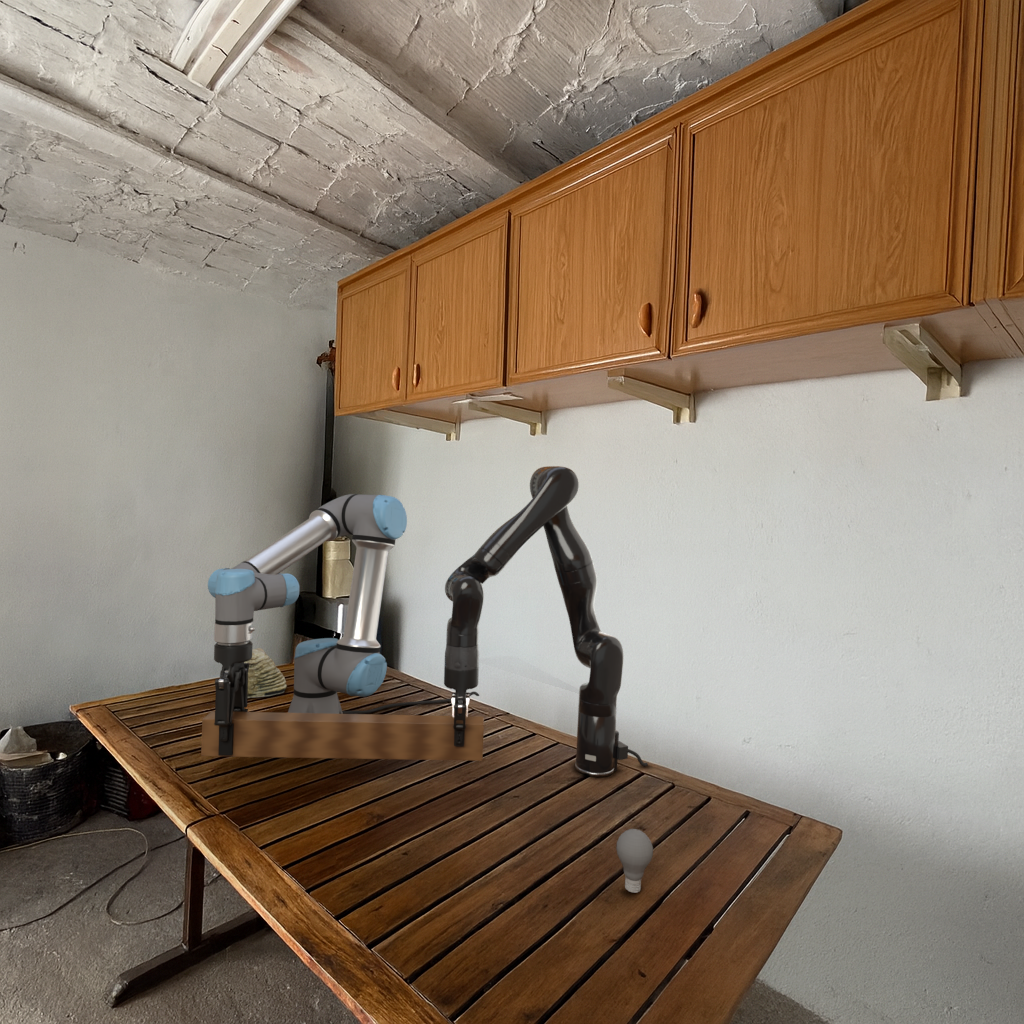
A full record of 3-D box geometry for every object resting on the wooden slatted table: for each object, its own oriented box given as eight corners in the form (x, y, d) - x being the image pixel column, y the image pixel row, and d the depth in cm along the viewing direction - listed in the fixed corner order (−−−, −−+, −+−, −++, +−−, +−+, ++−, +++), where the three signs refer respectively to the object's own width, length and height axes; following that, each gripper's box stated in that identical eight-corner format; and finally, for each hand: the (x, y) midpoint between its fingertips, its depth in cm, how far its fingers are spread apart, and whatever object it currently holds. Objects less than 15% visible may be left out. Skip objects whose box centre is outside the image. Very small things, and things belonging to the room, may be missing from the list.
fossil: (218, 695, 195) (220, 647, 195) (278, 685, 208) (279, 640, 207) (228, 703, 189) (230, 653, 188) (289, 692, 201) (290, 645, 201)
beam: (201, 756, 133) (202, 719, 133) (210, 746, 138) (211, 711, 138) (482, 760, 137) (483, 724, 137) (482, 751, 142) (483, 716, 142)
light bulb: (610, 879, 108) (613, 822, 108) (644, 879, 109) (647, 822, 109) (619, 902, 102) (622, 840, 102) (655, 901, 103) (658, 840, 103)
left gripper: (236, 652, 127) (233, 767, 128) (265, 633, 145) (262, 733, 146) (197, 651, 126) (194, 767, 127) (231, 632, 144) (228, 733, 145)
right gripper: (479, 673, 132) (476, 754, 132) (478, 656, 146) (476, 729, 147) (442, 673, 131) (440, 754, 132) (446, 655, 146) (443, 728, 146)
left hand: (230, 748), depth 136 cm, fingers closed on beam, 5 cm apart
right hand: (459, 740), depth 139 cm, fingers closed on beam, 5 cm apart
